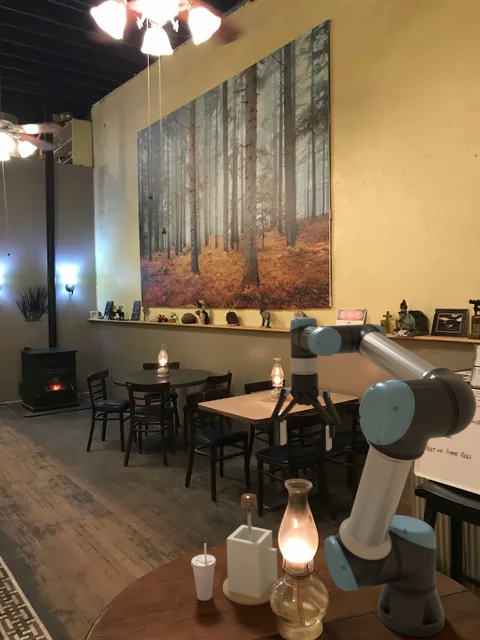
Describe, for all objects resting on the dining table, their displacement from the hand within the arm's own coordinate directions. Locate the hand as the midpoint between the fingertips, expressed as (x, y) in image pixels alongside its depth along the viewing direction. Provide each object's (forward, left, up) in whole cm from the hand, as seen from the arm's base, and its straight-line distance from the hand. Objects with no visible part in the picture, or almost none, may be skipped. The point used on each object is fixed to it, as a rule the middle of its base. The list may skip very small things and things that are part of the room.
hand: (305, 446), depth 145 cm
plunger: (+10, +17, -32) cm, 37 cm away
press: (+10, +17, -35) cm, 40 cm away
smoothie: (+19, +25, -35) cm, 47 cm away
